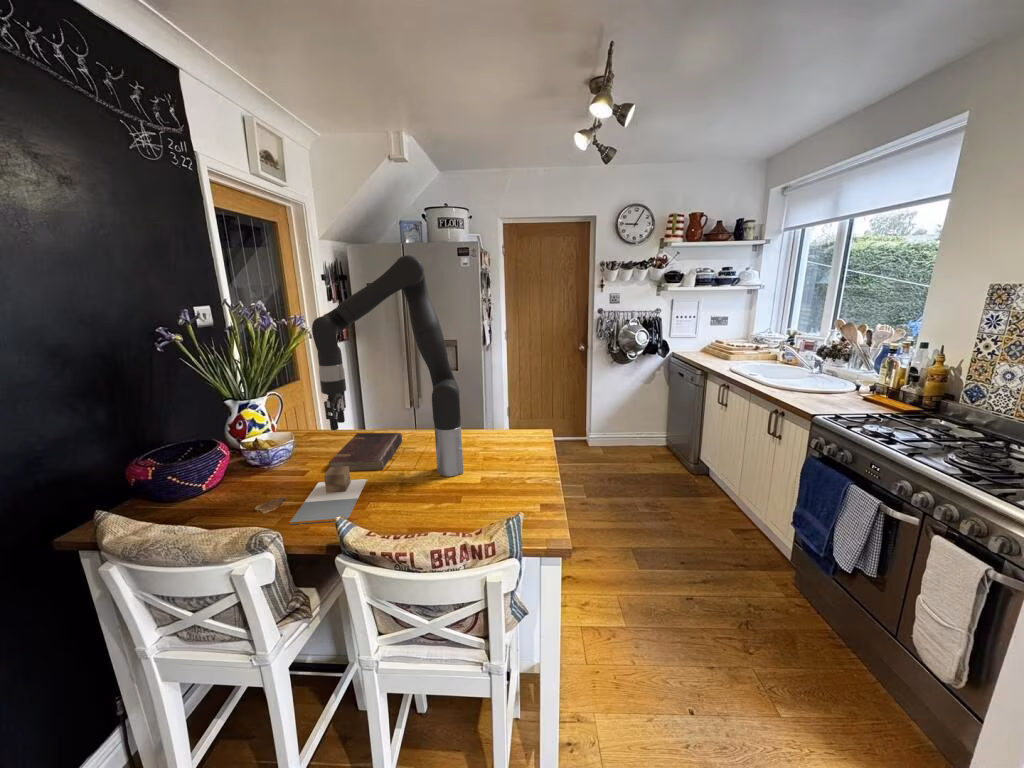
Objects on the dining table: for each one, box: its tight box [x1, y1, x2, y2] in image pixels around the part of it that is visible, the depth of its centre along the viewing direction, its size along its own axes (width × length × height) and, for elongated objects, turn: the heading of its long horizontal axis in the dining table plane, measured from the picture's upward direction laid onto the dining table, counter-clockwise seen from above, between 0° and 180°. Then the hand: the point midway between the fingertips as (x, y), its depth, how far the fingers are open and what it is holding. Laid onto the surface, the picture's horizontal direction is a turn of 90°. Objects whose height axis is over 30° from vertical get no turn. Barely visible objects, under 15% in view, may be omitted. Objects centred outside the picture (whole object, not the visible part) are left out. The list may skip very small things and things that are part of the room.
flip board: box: [289, 478, 368, 526], centre depth 127 cm, size 16×24×1 cm, turn 7°
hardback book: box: [328, 432, 403, 472], centre depth 160 cm, size 29×19×5 cm, turn 1°
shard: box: [254, 497, 286, 515], centre depth 125 cm, size 11×8×2 cm
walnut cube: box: [323, 466, 351, 493], centre depth 133 cm, size 6×6×6 cm
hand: (338, 425), depth 136 cm, fingers open, 7 cm apart
